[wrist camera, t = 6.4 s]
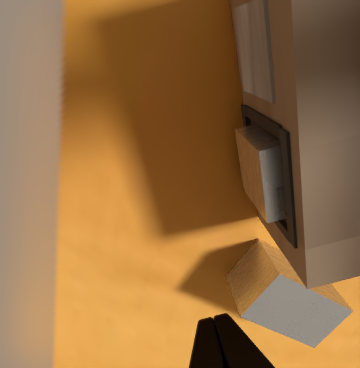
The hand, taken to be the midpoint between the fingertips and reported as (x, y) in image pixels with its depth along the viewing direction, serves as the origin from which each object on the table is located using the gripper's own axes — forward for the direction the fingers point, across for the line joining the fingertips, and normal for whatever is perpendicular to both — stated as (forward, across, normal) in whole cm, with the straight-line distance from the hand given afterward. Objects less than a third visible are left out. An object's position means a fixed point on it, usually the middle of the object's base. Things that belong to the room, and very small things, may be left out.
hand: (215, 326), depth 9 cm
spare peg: (+12, -6, +11) cm, 17 cm away
